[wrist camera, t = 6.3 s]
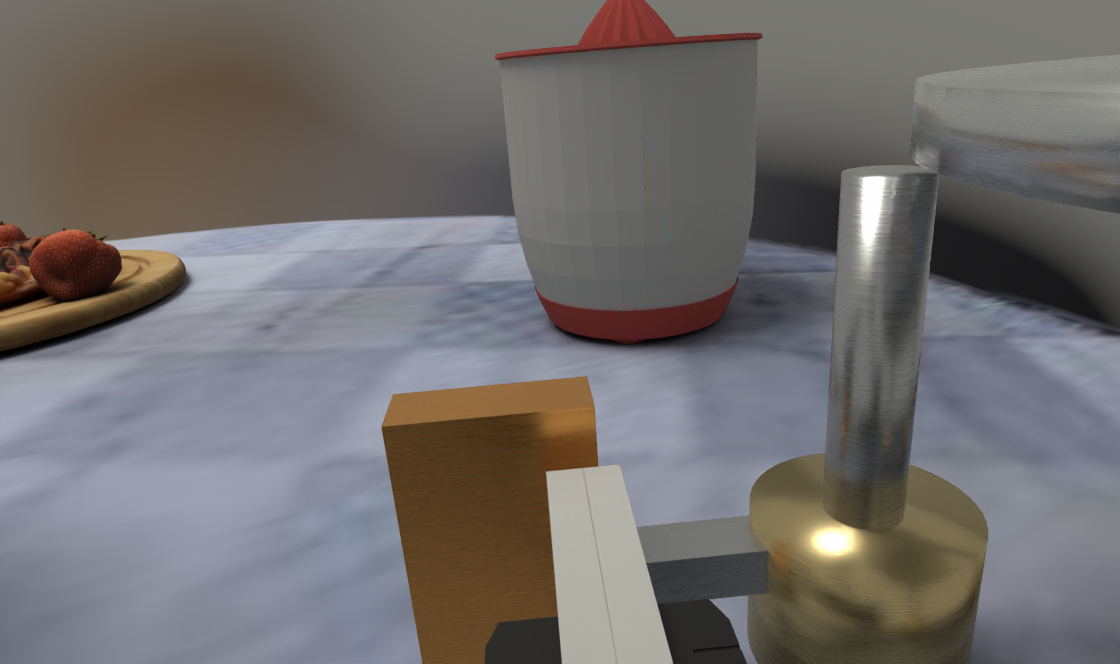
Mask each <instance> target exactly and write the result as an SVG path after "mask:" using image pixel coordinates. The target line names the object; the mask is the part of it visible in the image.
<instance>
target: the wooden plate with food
mask: <svg viewBox="0 0 1120 664" xmlns="http://www.w3.org/2000/svg"><path fill="white" fill-rule="evenodd" d="M106 237H107V236H106ZM104 238H105V237H103V238H99V239H96V238H95V234H94V233H93V232H92V231H91V232H82V231H79V230H66V229H63V231H62V232H59V233H56V234H53V235H46V236H38V237H33V238H28V239H27V238H26V236H25V234H24V233H23V232H22V230H21V229H20V228H19V227H16V226H14V225H12V224H7V223H6V224H5V223H4V224H3V223H2V221H1V222H0V351H4V350H9V349H14V348H18V347H21V346H25V345H29V344H33V343H36V342H40V341H44V340H47V339H51V338H55V337H58V336H62V335H65V334H69V333H72V332H75V331H78V330H81V329H84V328H87V327H90V326H93V325H96V324H99V323H102V322H105V321H108V320H111V319H114V318H116V317H119V316H122V315H125V314H127V313H130V312H133V311H135V310H137V309H140V308H142V307H144V306H147V305H149V304H151V303H153V302H155V301H157V300H159V299H161V298H163V297H164V296H166V295H168V294H169V293H171V292H172V291H174V290H175V289H176V288H177V287H178V286H179V285H180V284H181V283H182V282H183V280H184V278H185V275H186V269H185V265H184V263H183V262H182V260H181V259H180V258H178V257H177V256H175V255H174V254H171V253H168V252H162V251H153V250H117V249H116V248H115V247H114V246H111V245H110V244H105V243H104V242H102V240H103V239H104Z"/></svg>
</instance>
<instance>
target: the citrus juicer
mask: <svg viewBox="0 0 1120 664" xmlns="http://www.w3.org/2000/svg"><path fill="white" fill-rule="evenodd" d="M762 37H763V36H762V34H761V33H739V34H719V35H703V36H687V37H675V36H674V34H673V33H672V32H671V30H670V29H669V28H668V26H667V25H666V24H665V22H664V21H663V20H662V19H661V18H660V17H659V15H658V14H657V13H656V12H655V11H654V10H653V9H652V8H651V7H650V6H649V5H648V4H647V3H646V1H644V0H607V2H606V3H605V4H604V5H603V7H602V8H601V9H600V11H599V12H598V14H597V15H596V16H595V18H594V19H593V21H592V22H591V23H590V25H589V27H588V28H587V29H586V31H585V33H584V35H583V36H582V38H581V40H580V42H579V43H578V45H574V46H563V47H553V48H542V49H532V50H523V51H514V52H506V53H500V54H496V56H495V59H497V60H500V68H501V79H502V90H503V99H504V111H505V122H506V132H507V142H508V153H509V164H510V173H511V185H512V196H513V203H514V209H515V216H516V222H517V229H518V233H519V237H520V240H521V244H522V248H523V252H524V255H525V259H526V262H527V265H528V268H529V270H530V273H531V275H532V278H533V280H534V283H535V289H536V293H537V295H538V297H539V299H540V301H541V303H542V305H543V307H544V308H545V310H546V312H547V314H548V316H549V318H550V319H551V321H552V322H553V323H554V324H555V325H556V326H558V327H560V328H562V329H563V330H566V331H569V332H572V333H574V334H578V335H583V336H588V337H594V338H603V339H612V340H614V341H615V342H618V343H623V344H633V343H638V342H641V341H643V340H645V339H652V338H662V337H669V336H674V335H680V334H684V333H688V332H692V331H695V330H698V329H701V328H703V327H706V326H708V325H710V324H712V323H714V322H715V321H717V320H718V319H719V318H720V317H721V316H722V315H723V314H724V312H725V310H726V308H727V306H728V304H729V301H730V299H731V297H732V294H733V292H734V290H735V287H736V285H737V281H738V272H739V269H740V266H741V263H742V260H743V256H744V253H745V250H746V246H747V241H748V235H749V230H750V225H751V220H752V214H753V202H754V201H753V200H754V189H755V151H756V148H755V147H756V95H757V42H758V39H761V38H762Z"/></svg>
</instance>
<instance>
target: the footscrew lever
mask: <svg viewBox="0 0 1120 664" xmlns="http://www.w3.org/2000/svg"><path fill="white" fill-rule="evenodd" d="M938 181H939V174H938V173H935V172H933V171H931V170H929V169H927V168H925V167H922V166H907V165H906V166H905V165H883V166H867V167H858V168H852V169H848V170H844V171H843V172H842V173H841V191H840V208H839V226H838V242H837V259H836V277H835V294H834V311H833V328H832V346H831V363H830V380H829V397H828V415H827V432H826V449H825V454H816V455H808V456H803V457H798V458H794V459H791V460H788V461H785V462H783V463H780V464H778V465H776V466H774V467H772V468H770V469H769V470H767V471H766V472H765V473H763V474H762V475H761V476H760V477H759V478H758V480H757V481H756V482H755V484H754V486H753V487H752V490H751V494H750V516H742V517H732V518H722V519H712V520H702V521H692V522H682V523H673V524H663V525H653V526H643V527H636V528H637V532H638V535H639V539H640V543H641V547H642V550H643V554H644V558H645V561H646V565H647V569H648V572H649V576H650V580H651V583H652V587H653V591H654V595H655V598H656V602H657V604H664V603H674V602H684V601H694V600H703V599H717V598H727V597H736V596H746V595H748V624H747V634H748V640H749V644H750V647H751V650H752V653H753V655H754V657H755V659H756V661H757V663H758V664H969V661H970V654H971V648H972V641H973V634H974V628H975V621H976V614H977V608H978V601H979V594H980V588H981V581H982V574H983V568H984V561H985V554H986V548H987V541H988V527H987V522H986V520H985V518H984V516H983V513H982V512H981V511H980V509H979V508H978V506H977V505H976V504H975V503H974V502H973V501H972V500H971V499H970V498H969V497H968V496H967V495H966V494H965V493H963V492H962V491H961V490H960V489H958V488H957V487H955V486H954V485H952V484H951V483H949V482H948V481H946V480H944V479H942V478H940V477H938V476H936V475H934V474H932V473H930V472H928V471H925V470H923V469H920V468H917V467H915V466H912V465H909V463H910V453H911V444H912V434H913V424H914V414H915V405H916V395H917V385H918V375H919V366H920V356H921V346H922V336H923V327H924V317H925V307H926V298H927V288H928V278H929V267H930V258H931V249H932V238H933V229H934V219H935V210H936V200H937V190H938ZM382 433H383V439H384V444H385V450H386V456H387V462H388V467H389V473H390V479H391V485H392V491H393V496H394V502H395V508H396V514H397V519H398V525H399V531H400V537H401V543H402V548H403V554H404V560H405V566H406V571H407V577H408V583H409V589H410V594H411V600H412V606H413V612H414V618H415V623H416V629H417V635H418V641H419V646H420V652H421V658H422V664H484V663H485V646H486V644H487V643H488V641H489V639H490V637H491V635H492V634H493V632H494V630H495V628H496V626H497V625H498V623H499V622H506V621H516V620H526V619H536V618H546V617H555V616H558V609H557V597H556V585H555V573H554V561H553V549H552V537H551V525H550V513H549V501H548V489H547V477H546V472H547V471H558V470H568V469H579V468H590V467H598V454H597V437H596V421H595V406H594V402H593V398H592V395H591V391H590V387H589V383H588V379H587V376H586V377H575V378H564V379H553V380H543V381H532V382H521V383H510V384H499V385H489V386H478V387H467V388H456V389H446V390H435V391H424V392H413V393H402V394H393V396H392V399H391V402H390V404H389V407H388V410H387V413H386V415H385V418H384V421H383V424H382Z"/></svg>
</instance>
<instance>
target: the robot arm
mask: <svg viewBox="0 0 1120 664" xmlns="http://www.w3.org/2000/svg"><path fill="white" fill-rule="evenodd" d="M546 477H547V489H548V501H549V513H550V525H551V537H552V549H553V561H554V573H555V585H556V597H557V609H558V616H555V617H546V618H536V619H526V620H516V621H506V622H499V623H498V625H497V626H496V628H495V630H494V632H493V634H492V635H491V637H490V639H489V641H488V643H487V644H486V646H485V663H484V664H747V663H746V660H745V658H744V655H743V653H742V650H740V647H739V643H738V640H737V638H736V635H735V633H734V630H733V628H732V625H731V622H730V620H729V619H728V618H727V617H726V616H725V615H724V614H723V613H722V612H721V611H720V610H719V609H718V608H717V607H716V606H715V605H714V604H713V603H712V602H711V601H710V600H709V599H703V600H694V601H684V602H674V603H664V604H657V602H656V598H655V595H654V591H653V587H652V583H651V580H650V576H649V572H648V569H647V565H646V561H645V558H644V554H643V550H642V547H641V543H640V539H639V535H638V532H637V528H636V524H635V521H634V517H633V513H632V510H631V506H630V502H629V499H628V495H627V491H626V488H625V484H624V480H623V476H622V473H621V469H620V465H611V466H600V467H590V468H579V469H568V470H558V471H547V472H546Z"/></svg>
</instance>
